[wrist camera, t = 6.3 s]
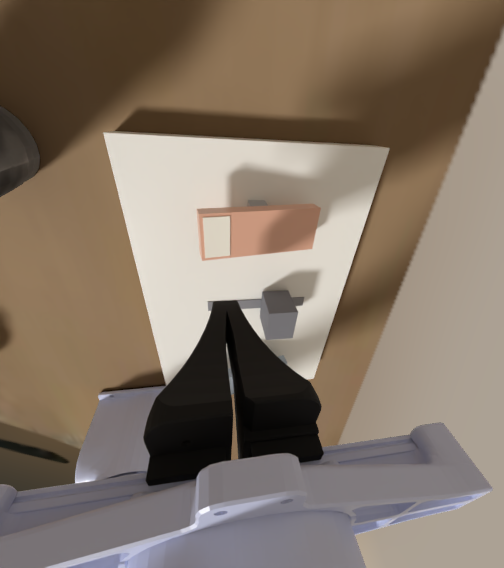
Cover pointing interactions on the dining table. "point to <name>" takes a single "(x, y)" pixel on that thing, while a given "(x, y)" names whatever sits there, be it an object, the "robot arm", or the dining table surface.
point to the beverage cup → (16, 153)
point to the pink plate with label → (256, 230)
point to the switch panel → (248, 269)
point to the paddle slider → (278, 314)
